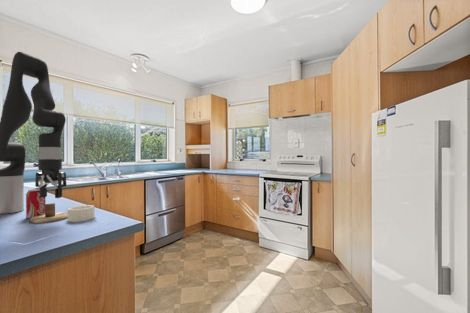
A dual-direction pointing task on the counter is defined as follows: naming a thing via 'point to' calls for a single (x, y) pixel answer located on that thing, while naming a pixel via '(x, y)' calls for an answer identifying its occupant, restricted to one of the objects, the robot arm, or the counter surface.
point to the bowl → (80, 213)
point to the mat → (41, 223)
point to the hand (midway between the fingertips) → (50, 197)
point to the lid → (49, 215)
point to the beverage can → (34, 203)
